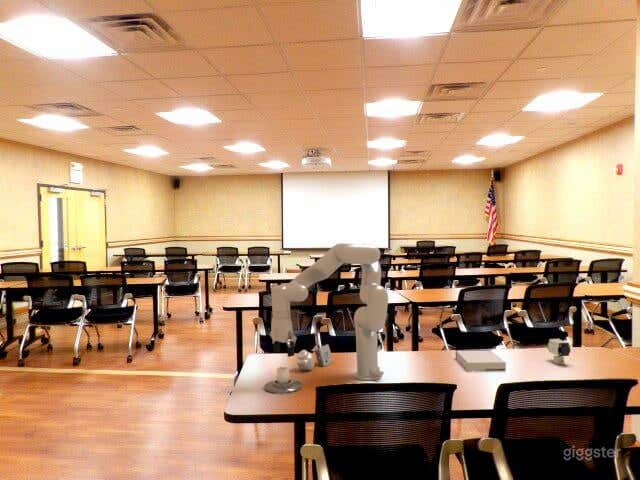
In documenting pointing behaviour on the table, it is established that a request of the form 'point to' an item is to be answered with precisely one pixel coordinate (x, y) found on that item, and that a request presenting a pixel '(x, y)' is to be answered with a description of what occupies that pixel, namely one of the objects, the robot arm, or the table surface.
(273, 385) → the socket
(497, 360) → the disc drive
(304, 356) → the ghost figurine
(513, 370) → the table surface
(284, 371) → the white rounded cylinder
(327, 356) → the electrical switch
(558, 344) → the security camera
